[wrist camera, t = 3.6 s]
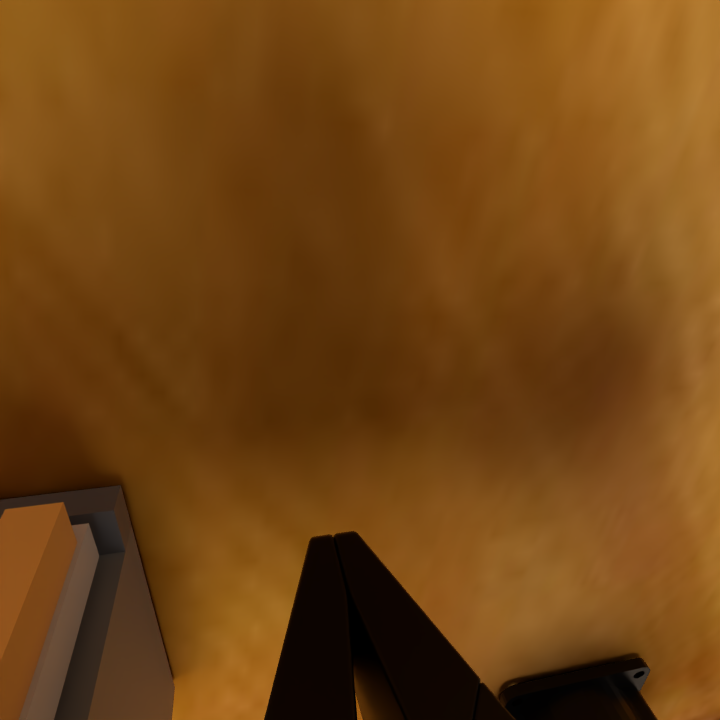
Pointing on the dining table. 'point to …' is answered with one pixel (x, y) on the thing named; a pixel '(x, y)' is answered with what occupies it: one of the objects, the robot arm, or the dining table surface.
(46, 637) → the side door
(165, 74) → the dining table surface
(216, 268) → the dining table surface
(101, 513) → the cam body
